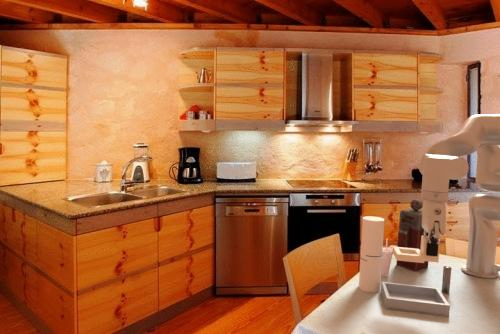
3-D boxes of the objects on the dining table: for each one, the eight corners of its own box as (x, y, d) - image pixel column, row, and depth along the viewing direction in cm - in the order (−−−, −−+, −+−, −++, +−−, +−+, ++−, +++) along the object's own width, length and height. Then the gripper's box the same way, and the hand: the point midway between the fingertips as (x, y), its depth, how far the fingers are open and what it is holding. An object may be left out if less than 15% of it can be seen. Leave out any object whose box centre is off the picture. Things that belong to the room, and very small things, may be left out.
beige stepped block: (440, 264, 112) (441, 242, 112) (396, 260, 115) (398, 238, 115) (433, 256, 120) (434, 235, 120) (392, 252, 123) (394, 231, 122)
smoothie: (393, 277, 140) (395, 241, 139) (375, 275, 141) (378, 240, 140) (390, 271, 146) (392, 236, 145) (373, 269, 148) (375, 235, 146)
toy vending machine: (392, 265, 152) (397, 199, 150) (408, 260, 159) (412, 196, 156) (412, 273, 145) (417, 203, 142) (428, 267, 152) (433, 200, 149)
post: (448, 291, 129) (450, 266, 128) (450, 294, 127) (452, 269, 126) (440, 290, 130) (442, 265, 129) (442, 293, 127) (444, 268, 126)
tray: (437, 297, 124) (438, 287, 123) (449, 316, 111) (449, 305, 111) (380, 291, 128) (381, 281, 127) (386, 308, 115) (386, 298, 115)
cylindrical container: (377, 294, 125) (381, 222, 123) (356, 289, 129) (360, 219, 127) (382, 286, 131) (386, 218, 129) (361, 282, 135) (365, 215, 133)
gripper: (456, 201, 106) (450, 263, 108) (439, 192, 122) (435, 246, 124) (427, 200, 108) (423, 260, 109) (415, 191, 124) (411, 244, 126)
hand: (429, 252), depth 117 cm, fingers closed on beige stepped block, 4 cm apart
